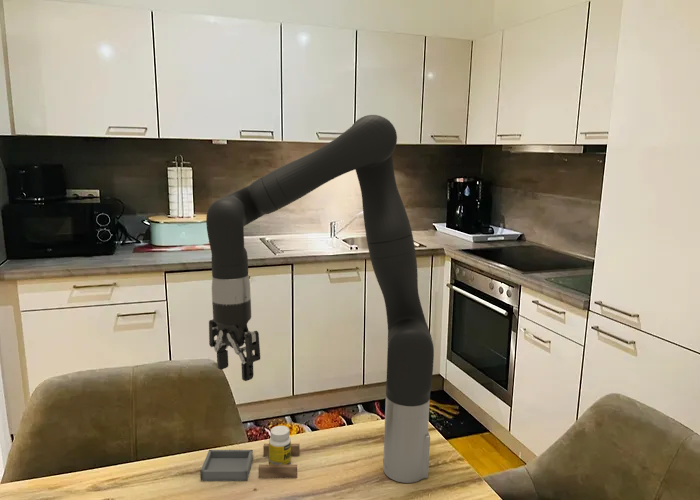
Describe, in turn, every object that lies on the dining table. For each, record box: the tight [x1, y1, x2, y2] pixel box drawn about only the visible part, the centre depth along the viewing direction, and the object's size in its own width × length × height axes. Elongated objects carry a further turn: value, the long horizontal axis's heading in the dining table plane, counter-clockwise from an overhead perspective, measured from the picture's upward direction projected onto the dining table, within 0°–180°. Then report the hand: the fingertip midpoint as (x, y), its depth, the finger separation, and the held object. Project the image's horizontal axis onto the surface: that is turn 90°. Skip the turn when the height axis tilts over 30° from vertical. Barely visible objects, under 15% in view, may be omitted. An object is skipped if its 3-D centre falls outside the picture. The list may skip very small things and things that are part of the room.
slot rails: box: [258, 443, 301, 479], centre depth 113 cm, size 8×9×2 cm
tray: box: [199, 449, 254, 482], centre depth 112 cm, size 10×8×2 cm
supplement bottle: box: [268, 425, 292, 465], centre depth 113 cm, size 5×5×8 cm
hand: (235, 373), depth 107 cm, fingers open, 8 cm apart
